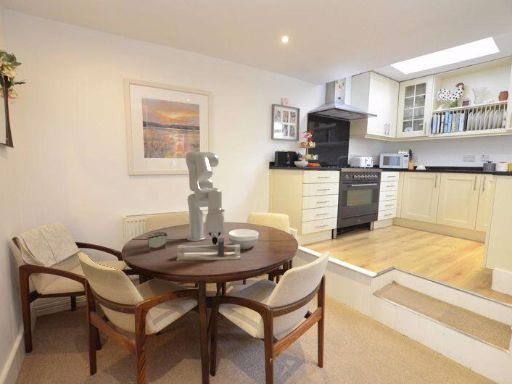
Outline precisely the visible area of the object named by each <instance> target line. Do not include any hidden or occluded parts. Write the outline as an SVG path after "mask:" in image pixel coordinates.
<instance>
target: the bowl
mask: <svg viewBox="0 0 512 384" xmlns="http://www.w3.org/2000/svg"><path fill="white" fill-rule="evenodd" d="M228 237H229V242H230V243H231V245H237V244H240V250H245V249H251V248H252V247H253V246H254V245H256V243H257V241H258V238H259V231H257V230H255V229H249V228H248V229H247V228H241V229H240V228H239V229H237V228H236V229H233V230H230V231H229V232H228Z"/></svg>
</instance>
